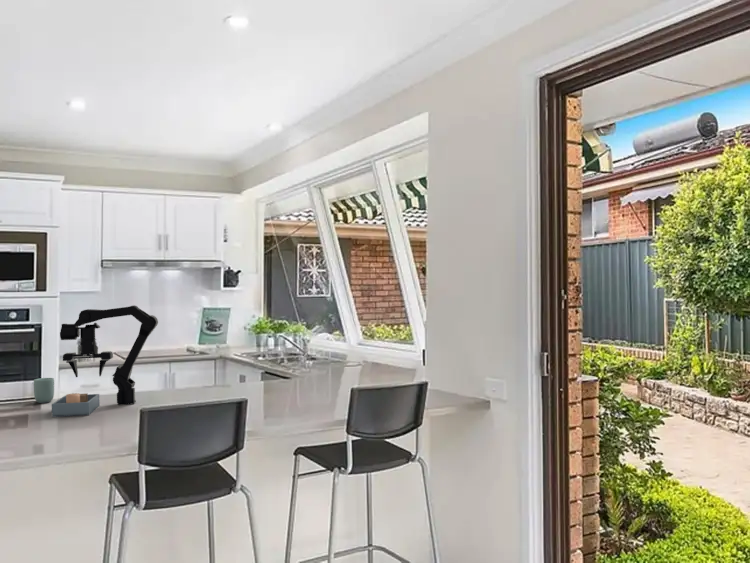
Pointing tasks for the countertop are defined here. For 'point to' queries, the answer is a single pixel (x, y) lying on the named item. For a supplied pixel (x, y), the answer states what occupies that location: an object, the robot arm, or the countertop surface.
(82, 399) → the walnut cube
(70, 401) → the terracotta cylinder
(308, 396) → the countertop surface
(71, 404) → the slate tote
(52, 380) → the cup
